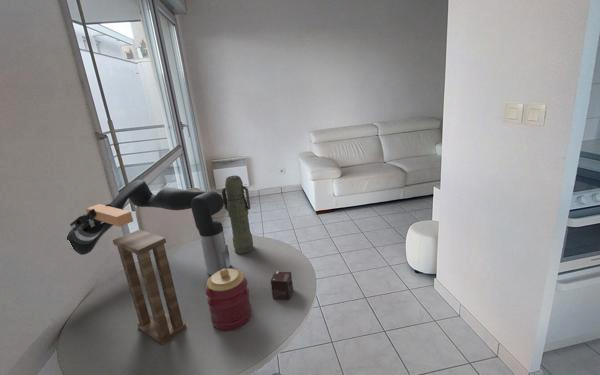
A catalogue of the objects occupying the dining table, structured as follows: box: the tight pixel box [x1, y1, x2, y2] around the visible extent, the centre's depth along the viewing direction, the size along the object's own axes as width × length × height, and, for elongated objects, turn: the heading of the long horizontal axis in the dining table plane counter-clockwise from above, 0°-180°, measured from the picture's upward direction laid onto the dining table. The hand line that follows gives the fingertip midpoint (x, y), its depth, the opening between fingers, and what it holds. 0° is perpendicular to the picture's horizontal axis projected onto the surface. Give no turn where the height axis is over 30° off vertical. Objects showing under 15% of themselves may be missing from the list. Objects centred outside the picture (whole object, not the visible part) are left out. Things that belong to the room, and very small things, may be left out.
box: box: [270, 271, 294, 300], centre depth 108 cm, size 6×6×7 cm
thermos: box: [221, 175, 254, 255], centre depth 139 cm, size 9×12×35 cm
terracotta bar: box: [85, 203, 134, 228], centre depth 94 cm, size 20×4×3 cm, turn 56°
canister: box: [204, 268, 253, 332], centre depth 97 cm, size 13×13×18 cm
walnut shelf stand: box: [112, 228, 187, 345], centre depth 94 cm, size 14×8×31 cm, turn 55°
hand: (101, 209), depth 95 cm, fingers closed on terracotta bar, 4 cm apart
